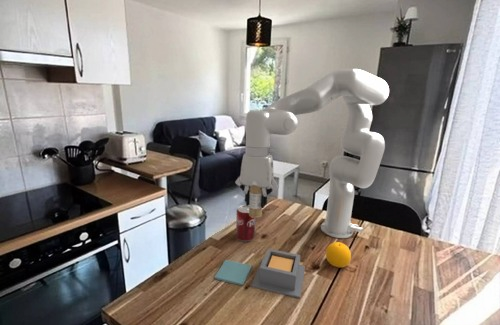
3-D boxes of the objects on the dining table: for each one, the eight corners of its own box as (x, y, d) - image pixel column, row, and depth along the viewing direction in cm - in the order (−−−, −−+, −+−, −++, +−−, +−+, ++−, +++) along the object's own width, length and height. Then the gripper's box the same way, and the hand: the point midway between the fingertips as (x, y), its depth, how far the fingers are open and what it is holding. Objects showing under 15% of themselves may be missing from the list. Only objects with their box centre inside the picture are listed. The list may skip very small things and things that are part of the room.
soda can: (255, 233, 106) (256, 205, 103) (253, 243, 99) (255, 213, 96) (237, 231, 107) (238, 204, 104) (234, 241, 100) (235, 212, 97)
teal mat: (251, 267, 86) (251, 265, 86) (242, 285, 78) (242, 283, 77) (225, 261, 88) (225, 259, 88) (214, 278, 80) (214, 276, 80)
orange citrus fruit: (350, 260, 91) (353, 241, 89) (348, 274, 84) (351, 253, 82) (326, 254, 94) (329, 235, 92) (322, 266, 87) (325, 246, 85)
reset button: (293, 264, 83) (293, 259, 83) (289, 278, 77) (290, 273, 77) (271, 259, 85) (272, 255, 85) (267, 273, 79) (267, 268, 78)
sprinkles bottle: (258, 211, 91) (259, 174, 88) (264, 217, 87) (266, 178, 84) (246, 213, 89) (247, 175, 86) (252, 219, 86) (253, 180, 82)
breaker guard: (305, 267, 86) (306, 252, 85) (300, 298, 73) (301, 281, 72) (263, 258, 90) (264, 244, 89) (251, 286, 77) (252, 270, 76)
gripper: (286, 151, 84) (283, 204, 89) (236, 146, 88) (235, 197, 93) (282, 156, 77) (278, 214, 82) (227, 151, 81) (227, 206, 86)
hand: (255, 204), depth 87 cm, fingers closed on sprinkles bottle, 4 cm apart
